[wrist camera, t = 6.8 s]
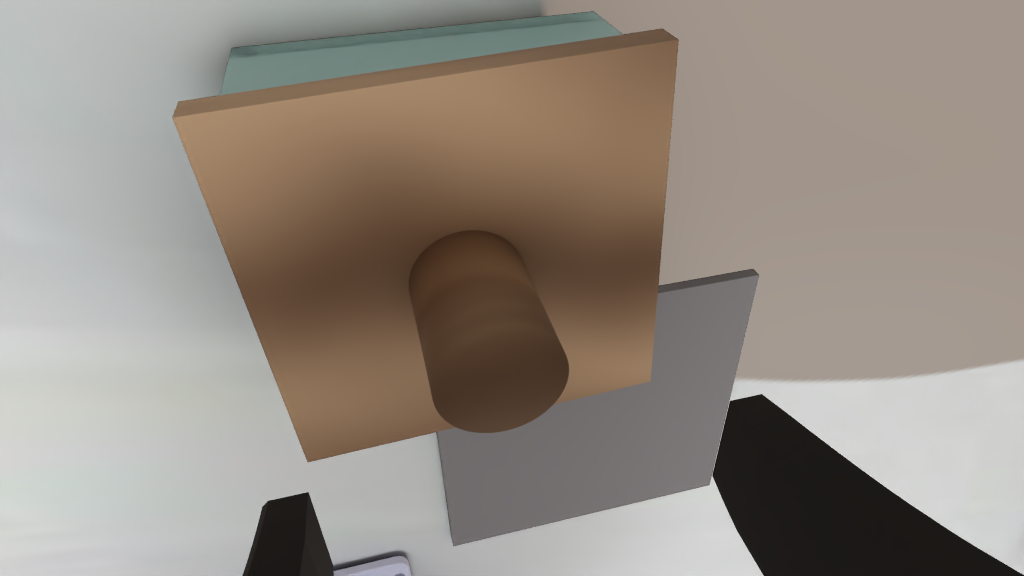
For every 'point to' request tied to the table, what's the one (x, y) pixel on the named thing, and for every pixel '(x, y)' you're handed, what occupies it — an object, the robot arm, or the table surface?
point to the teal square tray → (400, 49)
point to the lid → (446, 233)
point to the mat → (611, 427)
